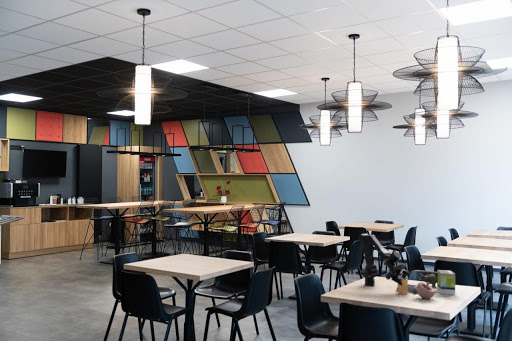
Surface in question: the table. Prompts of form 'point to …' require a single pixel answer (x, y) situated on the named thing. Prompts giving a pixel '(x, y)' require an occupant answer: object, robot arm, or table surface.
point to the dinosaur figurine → (429, 279)
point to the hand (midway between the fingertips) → (404, 284)
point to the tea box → (446, 282)
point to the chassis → (411, 288)
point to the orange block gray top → (403, 286)
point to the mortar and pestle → (425, 290)
